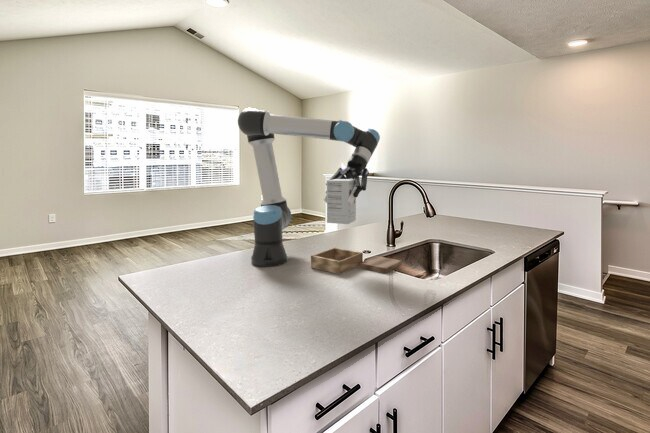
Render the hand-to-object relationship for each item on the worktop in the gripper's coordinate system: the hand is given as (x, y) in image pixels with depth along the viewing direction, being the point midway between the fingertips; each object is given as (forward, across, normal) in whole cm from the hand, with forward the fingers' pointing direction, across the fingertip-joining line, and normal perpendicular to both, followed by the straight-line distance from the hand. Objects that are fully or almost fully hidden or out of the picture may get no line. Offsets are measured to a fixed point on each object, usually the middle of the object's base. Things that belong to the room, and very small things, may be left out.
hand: (337, 201), depth 148 cm
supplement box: (+4, 0, -8) cm, 9 cm away
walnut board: (+11, -13, -27) cm, 32 cm away
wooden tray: (+18, +2, -20) cm, 27 cm away
